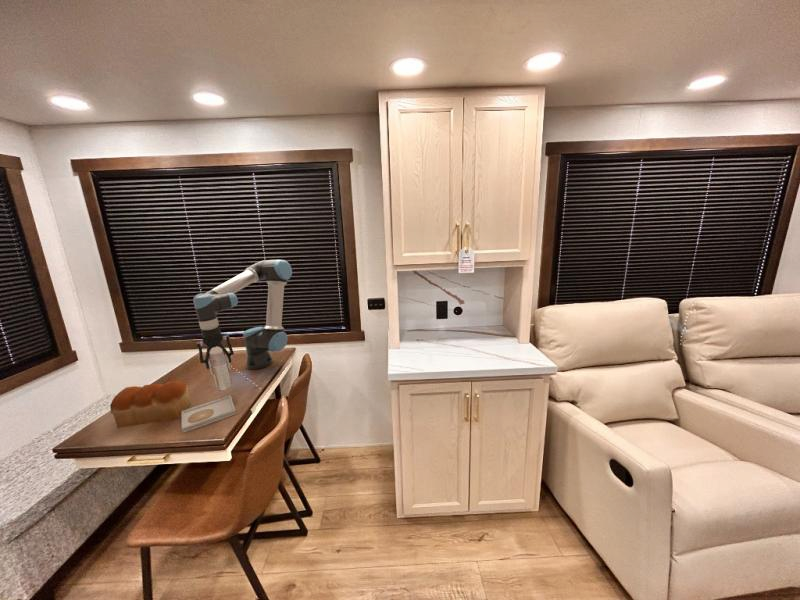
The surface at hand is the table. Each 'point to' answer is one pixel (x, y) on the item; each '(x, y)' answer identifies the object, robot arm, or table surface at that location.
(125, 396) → the bread
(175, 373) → the table surface
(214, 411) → the tray
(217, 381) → the water bottle
